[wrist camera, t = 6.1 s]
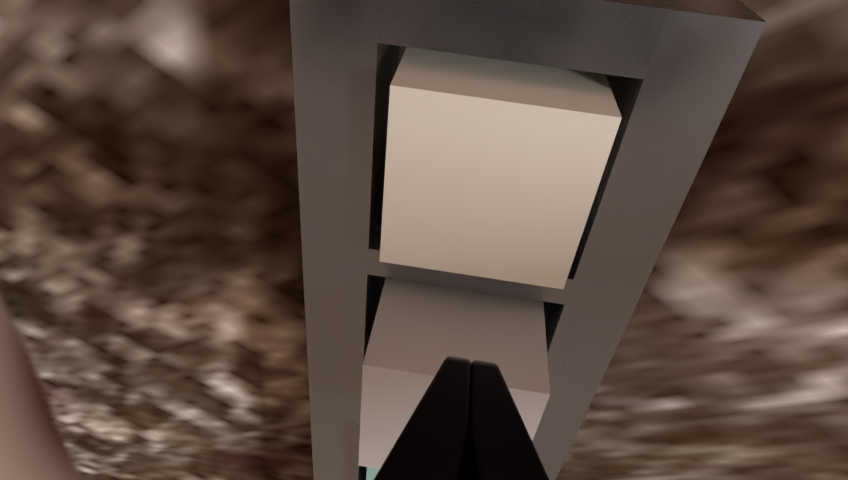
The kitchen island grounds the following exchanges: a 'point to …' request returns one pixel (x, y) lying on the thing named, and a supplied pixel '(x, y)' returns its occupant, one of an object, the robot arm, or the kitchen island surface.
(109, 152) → the kitchen island surface
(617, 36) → the key panel
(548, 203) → the key ivory
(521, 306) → the key grey
